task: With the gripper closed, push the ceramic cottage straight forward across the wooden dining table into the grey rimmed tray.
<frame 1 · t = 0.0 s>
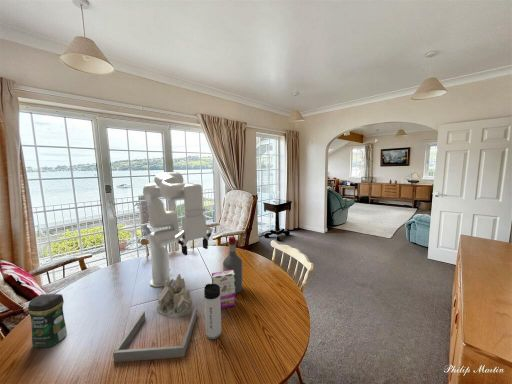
hand: (195, 251, 90), 31 cm above the table, tool pointing down, fingers open, 9 cm apart
candy bar box: (224, 305, 102), on the table
travel mug: (213, 333, 84), on the table
coffee jar: (50, 341, 81), on the table
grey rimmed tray: (161, 335, 83), on the table
ceramic cottage: (174, 308, 100), on the table
liquor: (233, 290, 115), on the table
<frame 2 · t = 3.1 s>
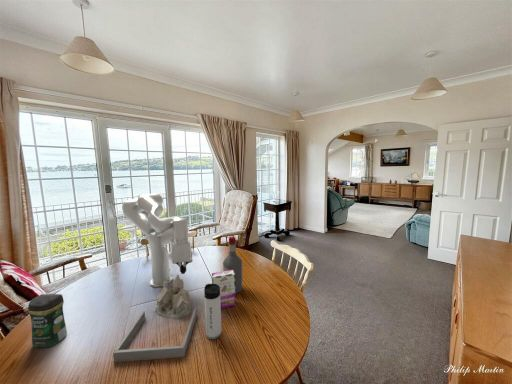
hand: (183, 272, 114), 10 cm above the table, tool pointing down, fingers closed
nothing on the table moved.
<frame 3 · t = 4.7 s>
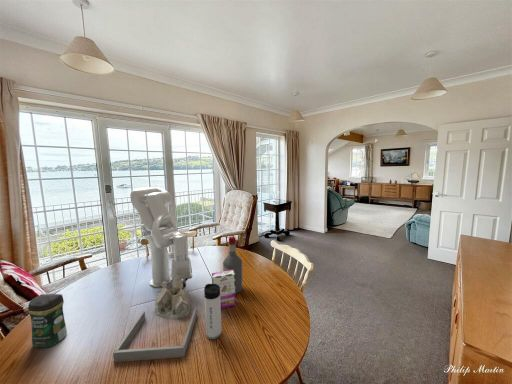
hand: (182, 288, 114), 2 cm above the table, tool pointing down, fingers closed
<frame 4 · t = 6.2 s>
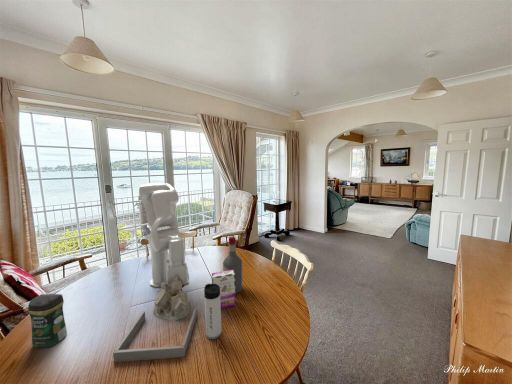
hand: (179, 295, 107), 2 cm above the table, tool pointing down, fingers closed
ceramic cottage: (171, 311, 98), on the table, touching gripper
everything else where it was.
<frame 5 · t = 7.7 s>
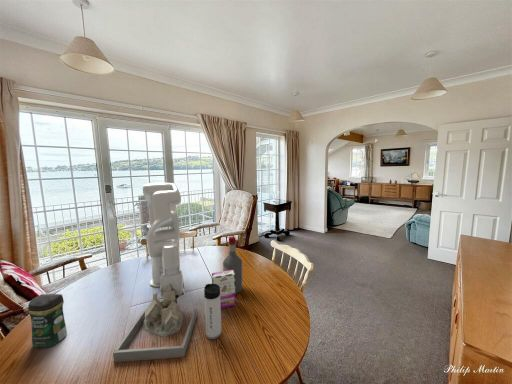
hand: (173, 306, 98), 2 cm above the table, tool pointing down, fingers closed
ceramic cottage: (163, 324, 90), on the table, touching gripper
everything else where it was.
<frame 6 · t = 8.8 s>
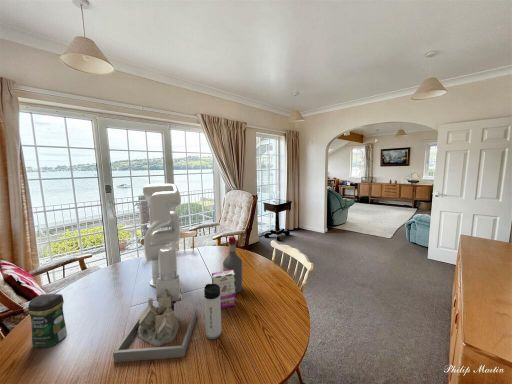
hand: (170, 312, 94), 2 cm above the table, tool pointing down, fingers closed
ceramic cottage: (157, 332, 85), on the table, touching gripper
everything else where it was.
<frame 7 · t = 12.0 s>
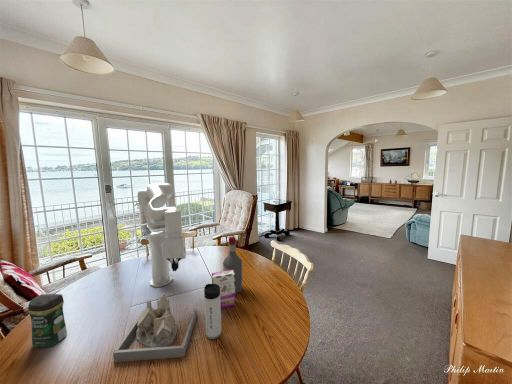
hand: (175, 269, 103), 17 cm above the table, tool pointing down, fingers closed
ceramic cottage: (156, 334, 84), on the table
everything else where it was.
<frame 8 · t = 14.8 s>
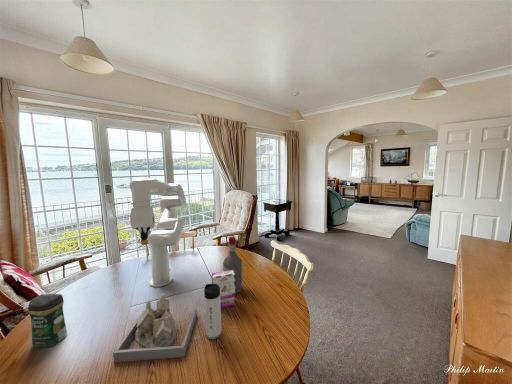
hand: (144, 239, 104), 32 cm above the table, tool pointing down, fingers closed
nothing on the table moved.
at the end: ceramic cottage inside the target area (2.3 cm from its centre), on the table; ceramic cottage tilted 0°; ceramic cottage moved 16.9 cm from its start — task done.
